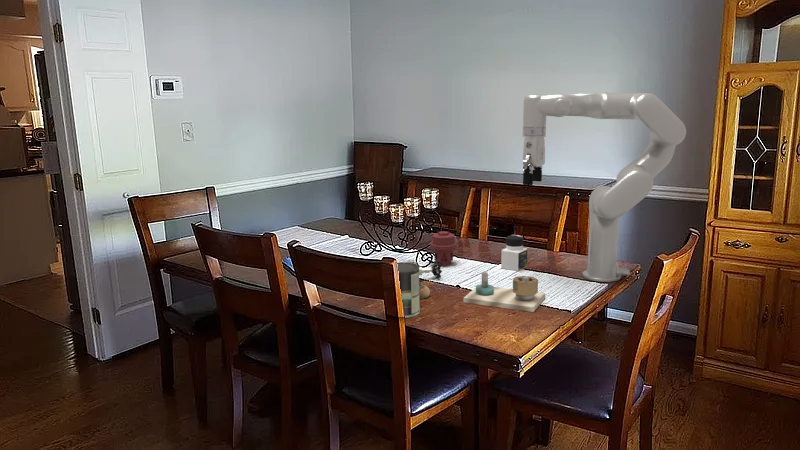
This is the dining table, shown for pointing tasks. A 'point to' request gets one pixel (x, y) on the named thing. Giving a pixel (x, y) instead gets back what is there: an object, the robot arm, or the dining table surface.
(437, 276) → the valve
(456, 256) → the dining table surface
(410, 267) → the coffee can
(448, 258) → the mechanical component
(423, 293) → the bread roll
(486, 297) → the hub board
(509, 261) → the medicine bottle
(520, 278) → the ring
